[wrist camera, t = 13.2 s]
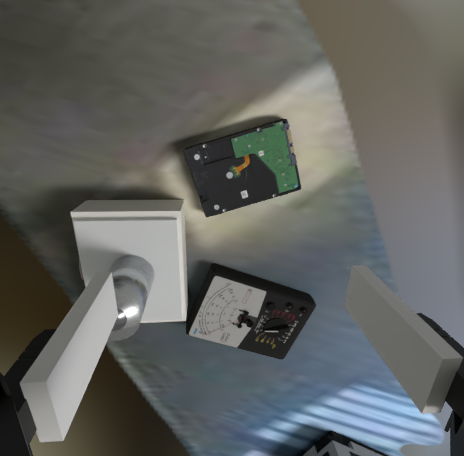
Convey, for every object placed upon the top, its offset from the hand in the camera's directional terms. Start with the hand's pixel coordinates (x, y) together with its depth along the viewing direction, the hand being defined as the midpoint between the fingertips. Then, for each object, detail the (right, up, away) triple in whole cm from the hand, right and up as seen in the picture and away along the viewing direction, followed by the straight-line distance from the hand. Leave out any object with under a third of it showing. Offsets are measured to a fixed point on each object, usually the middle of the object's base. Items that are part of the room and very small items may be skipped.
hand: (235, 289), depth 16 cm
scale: (-15, -1, +30) cm, 33 cm away
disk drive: (+1, +12, +27) cm, 30 cm away
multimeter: (+3, -11, +36) cm, 38 cm away
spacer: (-14, -3, +24) cm, 28 cm away
